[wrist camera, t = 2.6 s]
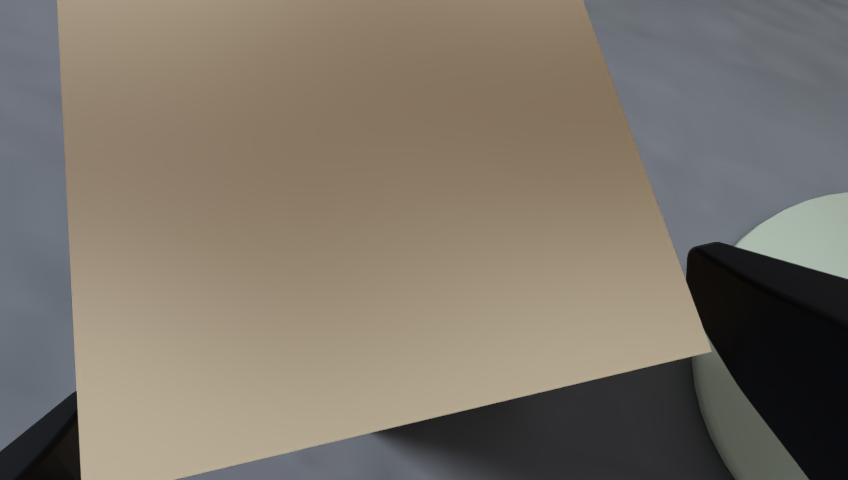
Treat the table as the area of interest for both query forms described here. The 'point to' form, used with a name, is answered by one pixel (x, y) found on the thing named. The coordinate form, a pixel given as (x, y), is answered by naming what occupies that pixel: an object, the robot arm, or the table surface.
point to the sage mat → (715, 387)
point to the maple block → (345, 222)
